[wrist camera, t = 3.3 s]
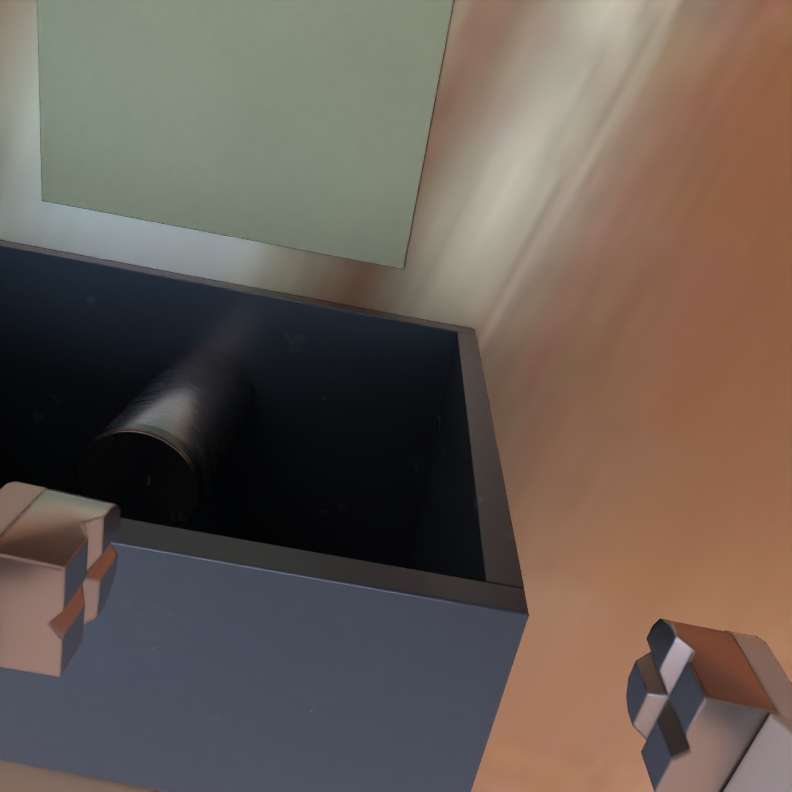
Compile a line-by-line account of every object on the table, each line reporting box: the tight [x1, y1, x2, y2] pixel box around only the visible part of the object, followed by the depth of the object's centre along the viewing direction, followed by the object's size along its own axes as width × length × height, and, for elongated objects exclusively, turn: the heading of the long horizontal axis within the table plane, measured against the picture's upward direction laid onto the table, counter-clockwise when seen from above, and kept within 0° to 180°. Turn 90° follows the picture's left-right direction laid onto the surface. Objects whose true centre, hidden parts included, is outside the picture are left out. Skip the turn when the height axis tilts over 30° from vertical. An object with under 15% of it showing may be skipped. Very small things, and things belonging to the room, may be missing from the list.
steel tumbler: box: [76, 347, 254, 528], centre depth 40 cm, size 6×6×12 cm
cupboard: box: [0, 240, 529, 792], centre depth 36 cm, size 20×32×26 cm, turn 80°
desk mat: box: [37, 0, 454, 269], centre depth 39 cm, size 18×22×1 cm
